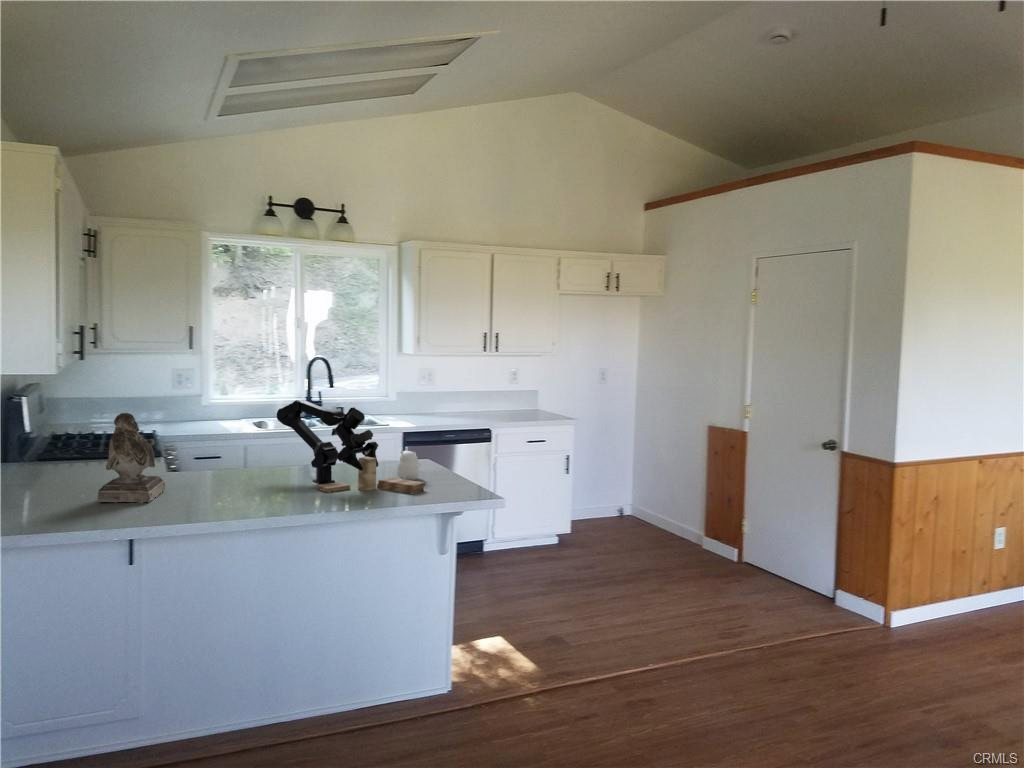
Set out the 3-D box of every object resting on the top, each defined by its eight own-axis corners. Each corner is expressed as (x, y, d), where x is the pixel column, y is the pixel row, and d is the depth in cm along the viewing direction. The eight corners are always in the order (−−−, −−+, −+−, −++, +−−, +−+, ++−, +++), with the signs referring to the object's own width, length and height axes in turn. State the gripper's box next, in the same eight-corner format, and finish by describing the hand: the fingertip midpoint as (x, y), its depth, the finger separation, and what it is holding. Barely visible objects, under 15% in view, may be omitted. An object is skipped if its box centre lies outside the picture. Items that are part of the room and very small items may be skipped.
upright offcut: (358, 489, 286) (358, 458, 285) (365, 487, 290) (366, 456, 289) (368, 490, 284) (368, 459, 283) (375, 488, 288) (376, 457, 287)
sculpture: (149, 503, 255) (148, 416, 253) (96, 504, 252) (95, 416, 250) (165, 491, 273) (164, 410, 271) (116, 491, 271) (115, 409, 268)
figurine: (415, 483, 300) (416, 453, 299) (392, 481, 302) (393, 452, 301) (423, 478, 310) (423, 449, 309) (401, 476, 312) (401, 448, 311)
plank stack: (376, 488, 288) (377, 480, 288) (388, 485, 295) (388, 477, 294) (413, 494, 280) (413, 485, 280) (424, 490, 287) (425, 482, 286)
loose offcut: (317, 489, 284) (317, 485, 283) (340, 485, 291) (340, 481, 290) (326, 492, 279) (326, 488, 279) (349, 489, 286) (350, 484, 286)
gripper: (343, 426, 279) (366, 458, 274) (374, 421, 295) (397, 451, 291) (327, 444, 283) (349, 477, 279) (359, 439, 299) (380, 469, 295)
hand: (370, 468), depth 286 cm, fingers open, 9 cm apart
